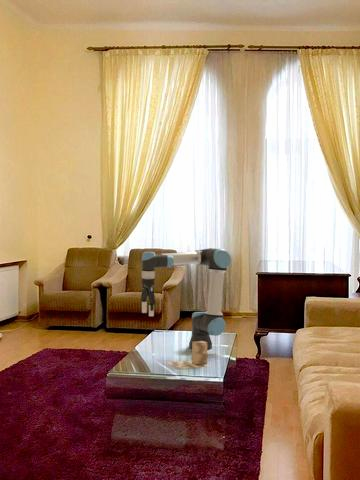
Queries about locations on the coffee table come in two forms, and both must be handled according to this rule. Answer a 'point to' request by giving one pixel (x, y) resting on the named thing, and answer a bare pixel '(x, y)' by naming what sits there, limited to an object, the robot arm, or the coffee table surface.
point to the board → (185, 365)
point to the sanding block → (199, 352)
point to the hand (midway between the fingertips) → (147, 314)
